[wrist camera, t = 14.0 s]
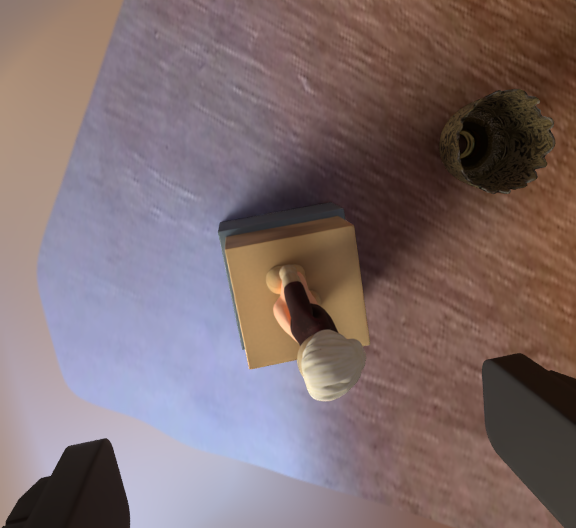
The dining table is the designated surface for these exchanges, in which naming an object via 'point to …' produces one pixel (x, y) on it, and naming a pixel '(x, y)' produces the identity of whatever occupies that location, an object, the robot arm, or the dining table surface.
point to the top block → (319, 277)
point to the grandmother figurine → (315, 336)
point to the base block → (267, 223)
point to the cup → (497, 141)
